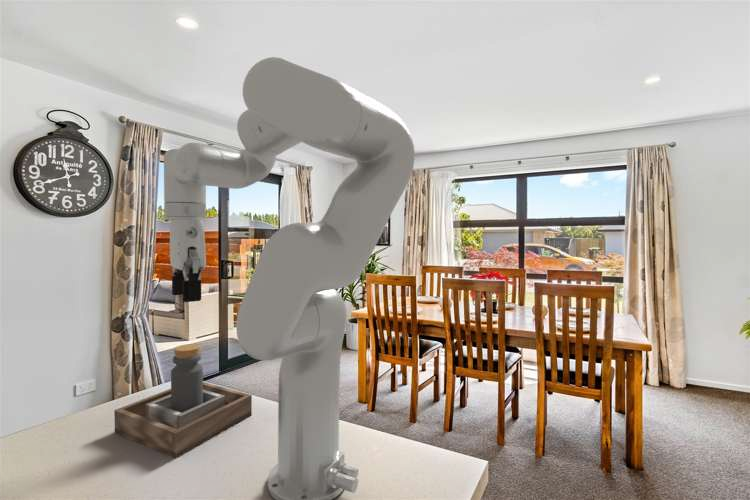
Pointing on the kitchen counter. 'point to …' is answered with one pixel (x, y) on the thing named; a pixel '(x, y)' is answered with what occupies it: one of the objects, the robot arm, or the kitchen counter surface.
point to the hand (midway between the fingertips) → (186, 297)
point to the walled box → (182, 419)
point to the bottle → (186, 378)
